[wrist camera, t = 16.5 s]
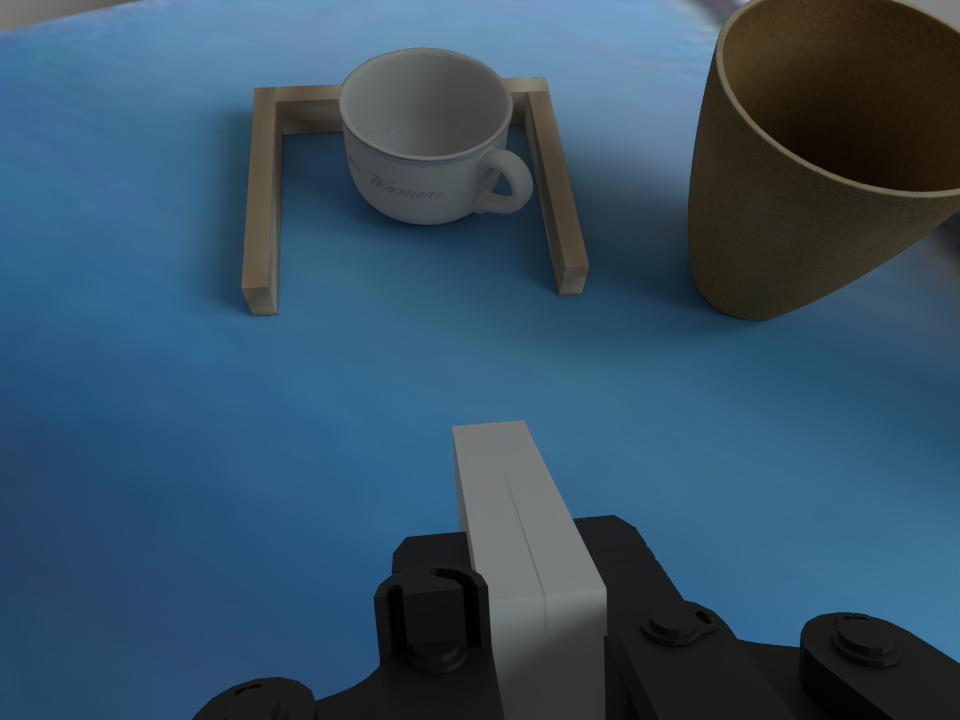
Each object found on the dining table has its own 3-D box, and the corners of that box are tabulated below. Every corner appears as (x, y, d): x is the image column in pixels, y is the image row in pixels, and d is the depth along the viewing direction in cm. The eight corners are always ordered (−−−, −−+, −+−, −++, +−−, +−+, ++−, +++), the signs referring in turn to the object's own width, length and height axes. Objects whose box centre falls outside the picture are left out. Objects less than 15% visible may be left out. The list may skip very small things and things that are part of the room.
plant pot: (668, 384, 43) (773, 203, 30) (616, 200, 51) (681, -13, 37) (895, 363, 45) (1097, 182, 31) (813, 188, 52) (946, -21, 38)
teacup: (323, 173, 51) (304, 79, 44) (447, 115, 55) (448, 19, 48) (434, 305, 46) (432, 222, 39) (563, 231, 49) (583, 143, 42)
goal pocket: (540, 109, 55) (545, 77, 53) (581, 294, 47) (589, 266, 44) (263, 121, 53) (254, 88, 51) (253, 316, 45) (241, 288, 42)
